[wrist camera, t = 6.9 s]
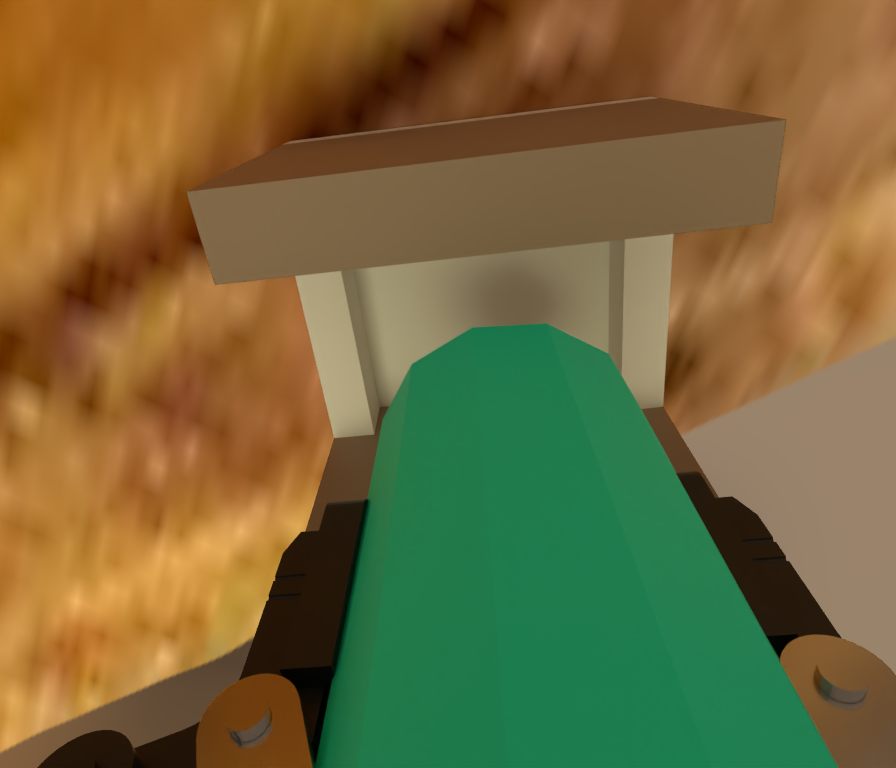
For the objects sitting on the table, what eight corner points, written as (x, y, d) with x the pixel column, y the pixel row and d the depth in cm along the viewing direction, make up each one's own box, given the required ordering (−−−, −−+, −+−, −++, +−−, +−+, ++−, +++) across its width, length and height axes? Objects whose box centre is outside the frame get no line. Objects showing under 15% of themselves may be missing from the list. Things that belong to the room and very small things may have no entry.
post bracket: (289, 141, 20) (186, 191, 12) (650, 96, 20) (785, 119, 12) (355, 438, 26) (313, 604, 18) (638, 411, 25) (724, 572, 17)
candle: (508, 262, 12) (940, 1742, 1) (695, 432, 14) (1499, 1633, 3) (329, 450, 14) (-40, 1611, 4) (512, 576, 16) (634, 1590, 5)
